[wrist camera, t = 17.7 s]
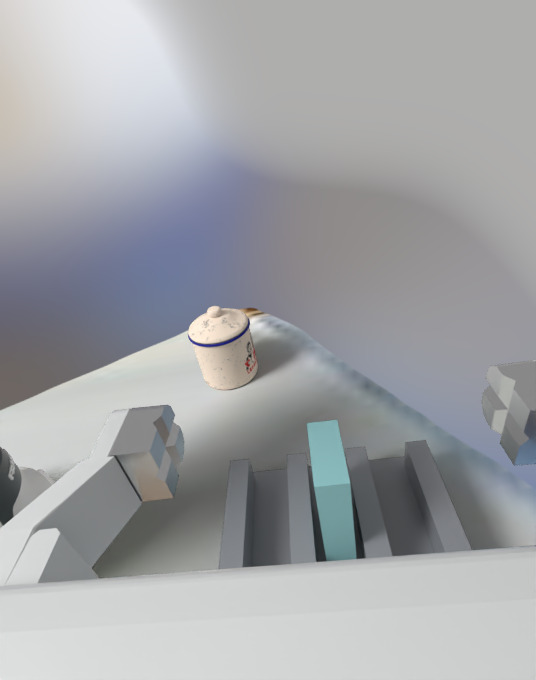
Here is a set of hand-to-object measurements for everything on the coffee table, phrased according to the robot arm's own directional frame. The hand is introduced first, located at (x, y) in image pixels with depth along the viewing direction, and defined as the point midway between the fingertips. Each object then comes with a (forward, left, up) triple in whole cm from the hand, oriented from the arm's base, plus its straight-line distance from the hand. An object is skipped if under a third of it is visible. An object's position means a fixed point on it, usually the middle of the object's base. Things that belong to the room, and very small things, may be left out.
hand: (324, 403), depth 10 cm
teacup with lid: (-32, +30, -30) cm, 53 cm away
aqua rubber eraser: (-6, +11, -29) cm, 31 cm away
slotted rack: (-6, +11, -30) cm, 32 cm away
